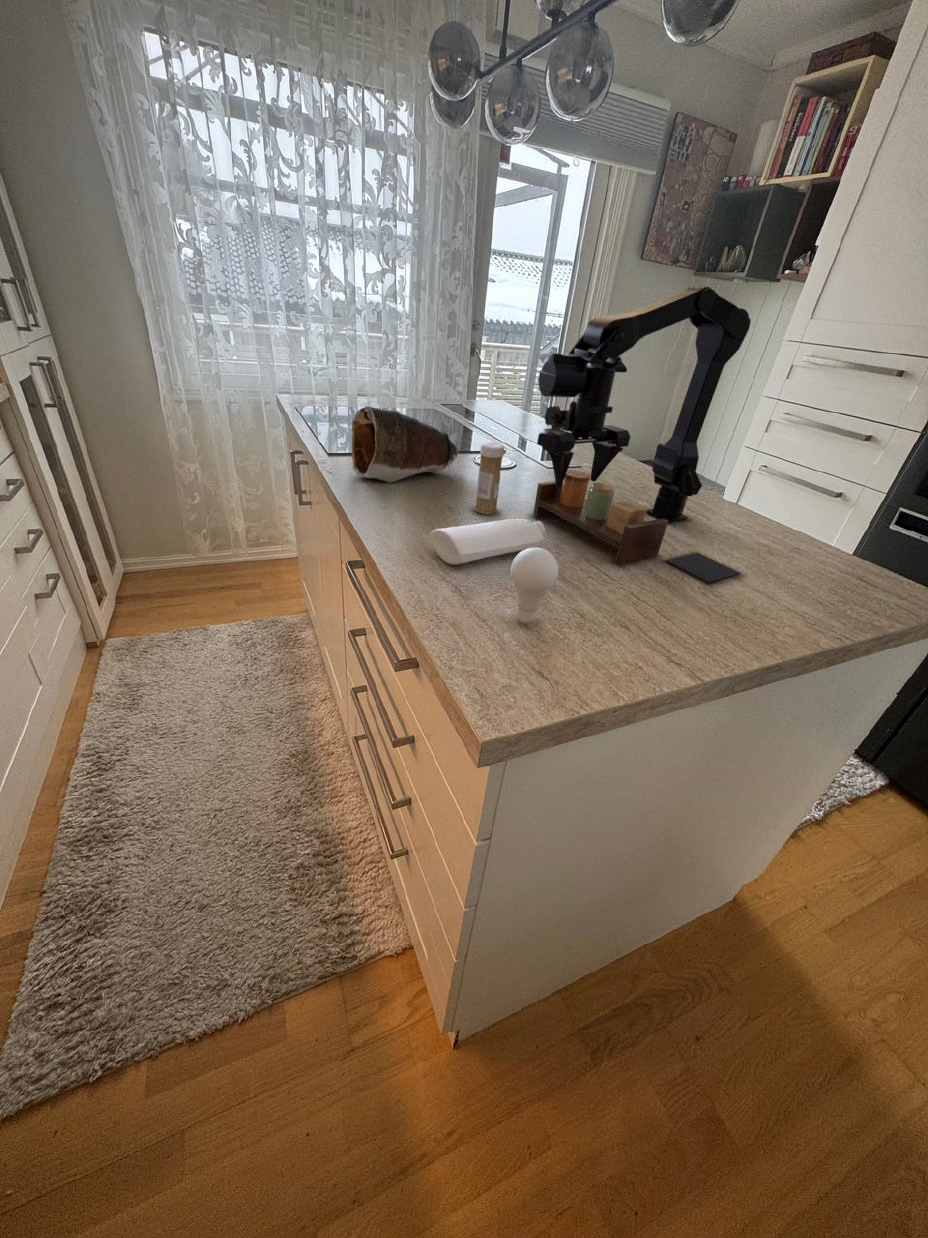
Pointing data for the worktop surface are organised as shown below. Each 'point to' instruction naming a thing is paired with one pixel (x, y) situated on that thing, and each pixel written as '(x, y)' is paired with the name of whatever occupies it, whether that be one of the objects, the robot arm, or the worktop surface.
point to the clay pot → (397, 446)
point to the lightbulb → (532, 580)
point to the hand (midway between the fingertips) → (575, 482)
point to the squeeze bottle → (486, 539)
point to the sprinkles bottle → (489, 477)
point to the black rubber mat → (703, 568)
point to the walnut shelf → (604, 526)
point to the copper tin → (574, 488)
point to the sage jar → (599, 501)
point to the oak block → (625, 515)
